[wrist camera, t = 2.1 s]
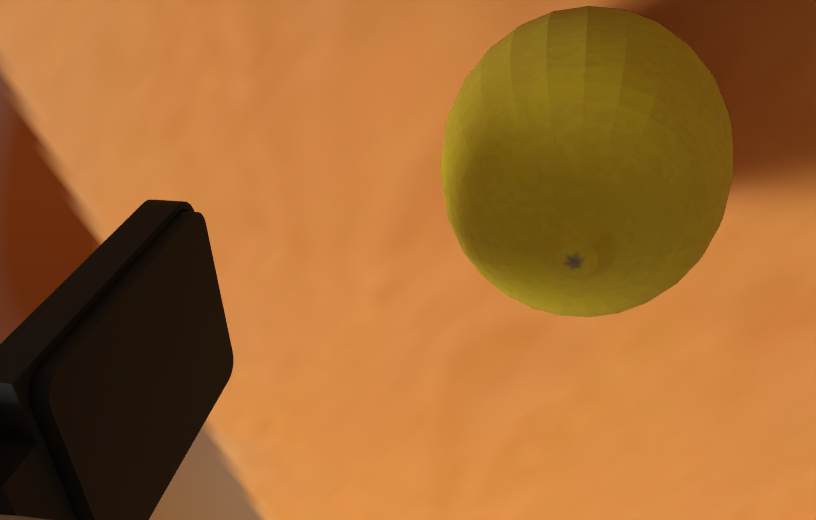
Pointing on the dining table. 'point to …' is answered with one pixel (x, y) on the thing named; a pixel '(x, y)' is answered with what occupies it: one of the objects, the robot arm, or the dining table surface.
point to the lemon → (587, 162)
